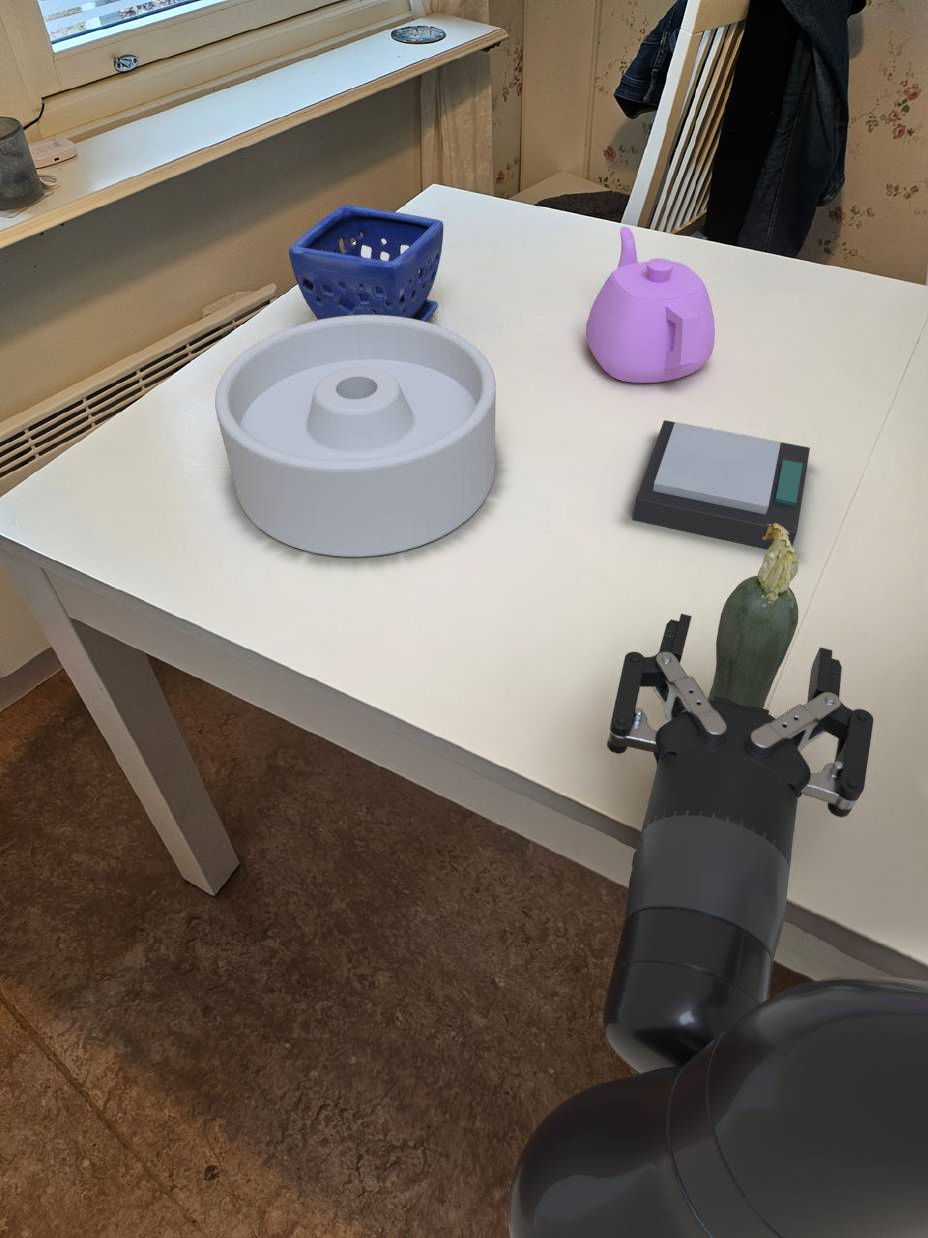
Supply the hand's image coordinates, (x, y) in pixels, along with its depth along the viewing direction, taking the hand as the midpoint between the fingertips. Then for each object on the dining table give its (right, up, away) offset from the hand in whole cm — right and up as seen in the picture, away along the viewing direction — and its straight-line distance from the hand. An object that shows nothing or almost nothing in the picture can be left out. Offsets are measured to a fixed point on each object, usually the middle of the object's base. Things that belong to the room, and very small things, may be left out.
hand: (751, 639), depth 55 cm
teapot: (+2, +31, +44) cm, 54 cm away
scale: (+6, +13, +27) cm, 31 cm away
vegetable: (0, -8, +8) cm, 11 cm away
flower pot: (-29, +35, +48) cm, 66 cm away
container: (-28, +16, +30) cm, 44 cm away
